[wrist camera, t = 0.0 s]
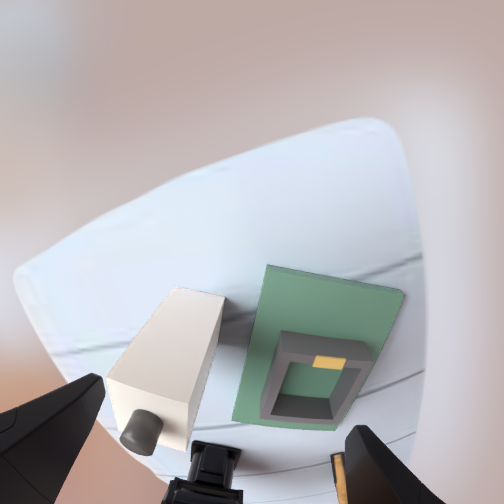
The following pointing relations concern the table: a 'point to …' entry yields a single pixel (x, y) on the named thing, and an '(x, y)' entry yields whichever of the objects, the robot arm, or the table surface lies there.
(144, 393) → the plug block
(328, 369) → the header board
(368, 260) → the table surface
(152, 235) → the table surface
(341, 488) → the ammunition clip
